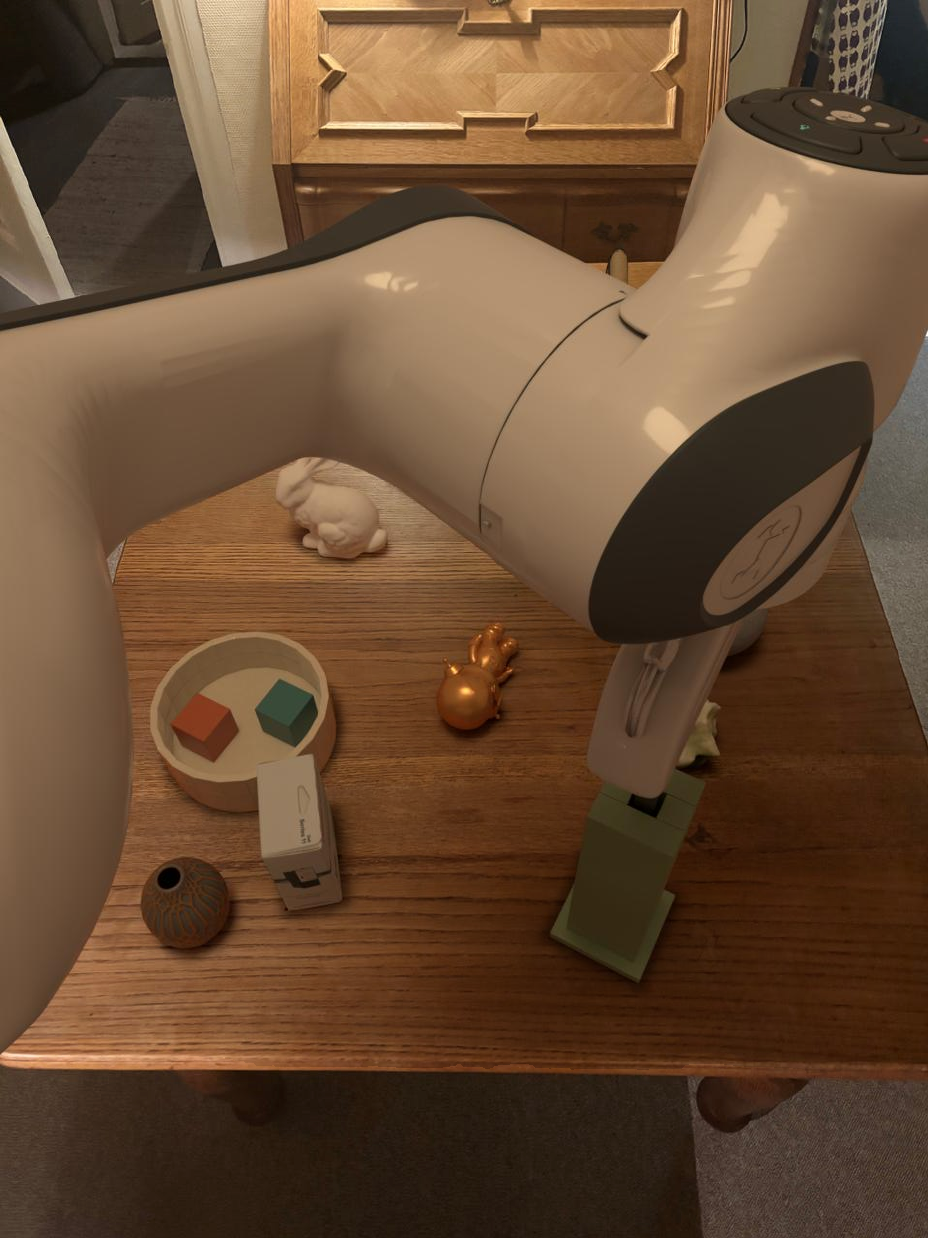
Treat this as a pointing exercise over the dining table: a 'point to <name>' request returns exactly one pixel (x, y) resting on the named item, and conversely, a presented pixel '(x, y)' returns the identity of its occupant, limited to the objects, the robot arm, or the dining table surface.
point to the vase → (185, 902)
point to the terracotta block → (205, 727)
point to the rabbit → (329, 511)
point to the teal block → (287, 712)
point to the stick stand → (626, 875)
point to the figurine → (476, 680)
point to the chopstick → (646, 804)
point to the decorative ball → (749, 630)
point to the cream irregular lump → (701, 739)
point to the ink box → (298, 832)
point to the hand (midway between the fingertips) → (680, 687)
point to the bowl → (239, 714)
